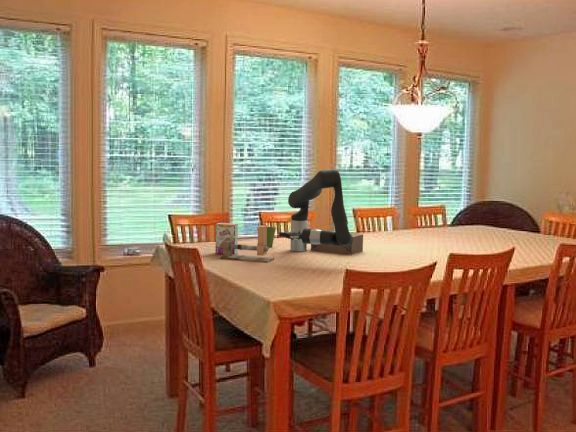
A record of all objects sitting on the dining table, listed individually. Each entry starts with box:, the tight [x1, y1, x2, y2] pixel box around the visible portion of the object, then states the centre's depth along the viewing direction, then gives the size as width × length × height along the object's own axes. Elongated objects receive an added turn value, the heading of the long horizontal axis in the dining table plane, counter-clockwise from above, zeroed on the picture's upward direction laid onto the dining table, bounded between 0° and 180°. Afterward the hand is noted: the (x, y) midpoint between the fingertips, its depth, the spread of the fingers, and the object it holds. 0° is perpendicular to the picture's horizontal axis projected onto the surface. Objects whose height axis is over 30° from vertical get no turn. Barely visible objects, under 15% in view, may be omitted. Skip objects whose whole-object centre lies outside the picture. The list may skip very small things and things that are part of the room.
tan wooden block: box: [256, 225, 268, 257], centre depth 319 cm, size 6×3×15 cm, turn 162°
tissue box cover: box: [310, 230, 364, 256], centre depth 356 cm, size 26×14×10 cm, turn 59°
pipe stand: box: [219, 241, 275, 264], centre depth 322 cm, size 10×26×8 cm, turn 72°
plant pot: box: [256, 226, 277, 249], centre depth 363 cm, size 12×12×11 cm
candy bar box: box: [215, 222, 239, 255], centre depth 336 cm, size 11×5×16 cm, turn 74°
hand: (279, 234), depth 316 cm, fingers closed
